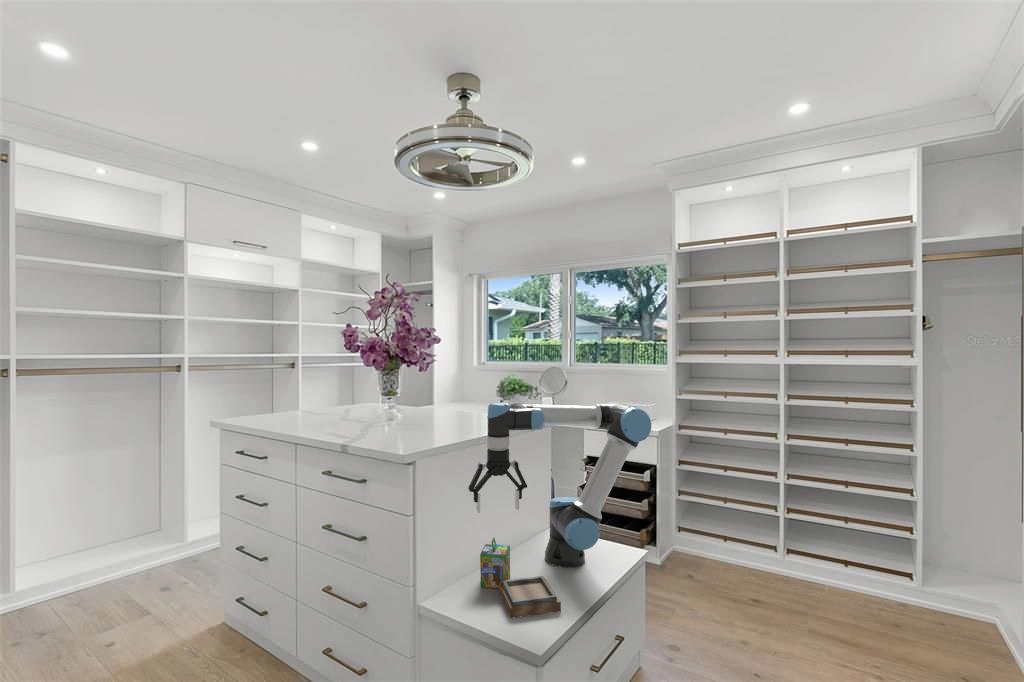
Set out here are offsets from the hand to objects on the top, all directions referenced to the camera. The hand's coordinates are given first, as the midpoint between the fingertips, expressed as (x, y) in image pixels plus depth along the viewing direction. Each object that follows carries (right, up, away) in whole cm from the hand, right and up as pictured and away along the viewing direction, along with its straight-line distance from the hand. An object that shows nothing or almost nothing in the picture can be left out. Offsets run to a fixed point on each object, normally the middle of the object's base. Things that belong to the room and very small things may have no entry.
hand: (497, 510), depth 172 cm
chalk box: (-1, -26, +1) cm, 26 cm away
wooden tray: (+10, -25, -12) cm, 30 cm away
